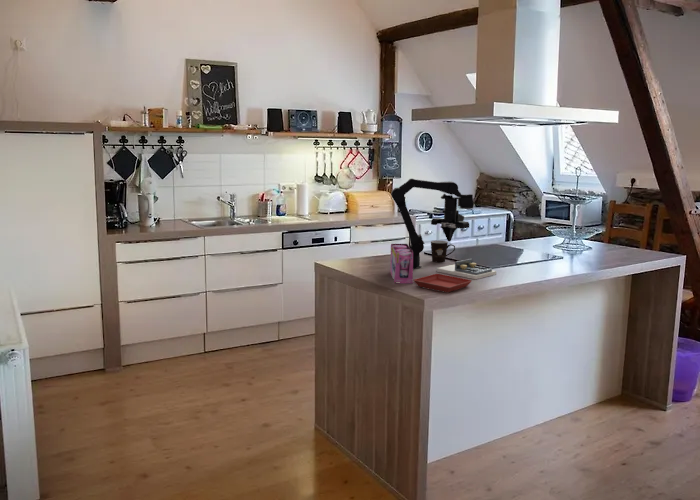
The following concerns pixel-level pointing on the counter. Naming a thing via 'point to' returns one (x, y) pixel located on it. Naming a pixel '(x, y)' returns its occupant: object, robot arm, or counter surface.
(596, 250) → the counter surface
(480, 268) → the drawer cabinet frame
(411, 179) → the robot arm
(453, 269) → the board
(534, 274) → the counter surface
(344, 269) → the counter surface
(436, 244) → the coffee mug
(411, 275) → the gum box
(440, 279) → the plant saucer
